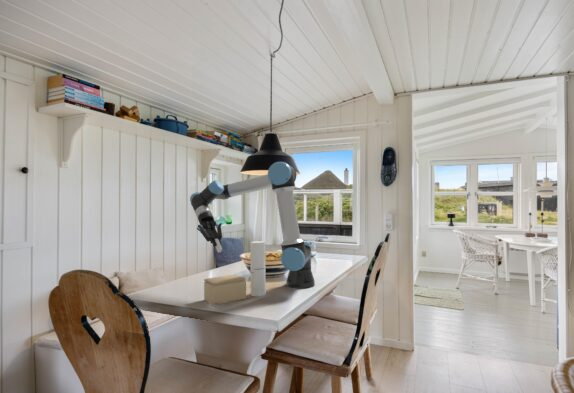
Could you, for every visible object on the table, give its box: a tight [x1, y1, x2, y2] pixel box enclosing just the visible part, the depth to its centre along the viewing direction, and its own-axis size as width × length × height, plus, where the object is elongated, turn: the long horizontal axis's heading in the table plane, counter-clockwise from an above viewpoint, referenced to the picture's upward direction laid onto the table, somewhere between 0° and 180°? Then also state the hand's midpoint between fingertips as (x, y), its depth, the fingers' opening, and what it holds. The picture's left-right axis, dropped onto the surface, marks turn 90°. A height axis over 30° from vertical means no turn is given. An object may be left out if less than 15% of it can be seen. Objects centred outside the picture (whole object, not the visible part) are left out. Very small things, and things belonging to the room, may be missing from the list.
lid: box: [203, 274, 246, 285], centre depth 149 cm, size 10×16×1 cm, turn 127°
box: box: [203, 280, 247, 306], centre depth 149 cm, size 10×16×8 cm, turn 127°
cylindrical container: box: [249, 240, 267, 297], centre depth 157 cm, size 7×7×25 cm
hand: (220, 250), depth 156 cm, fingers closed
